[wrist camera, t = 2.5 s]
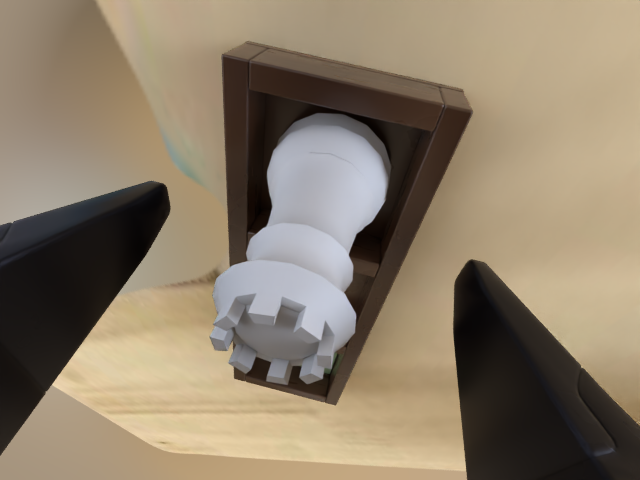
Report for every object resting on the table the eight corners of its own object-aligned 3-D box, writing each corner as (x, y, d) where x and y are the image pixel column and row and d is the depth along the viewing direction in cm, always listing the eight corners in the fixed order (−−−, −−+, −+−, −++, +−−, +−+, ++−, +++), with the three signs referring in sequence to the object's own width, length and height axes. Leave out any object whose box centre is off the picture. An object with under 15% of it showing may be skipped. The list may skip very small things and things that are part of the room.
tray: (463, 89, 10) (475, 111, 9) (340, 376, 23) (336, 406, 22) (247, 40, 11) (220, 53, 9) (244, 351, 23) (233, 378, 22)
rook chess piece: (412, 187, 12) (425, 393, 6) (319, 229, 15) (262, 413, 9) (351, 80, 10) (285, 235, 4) (253, 147, 13) (119, 313, 7)
